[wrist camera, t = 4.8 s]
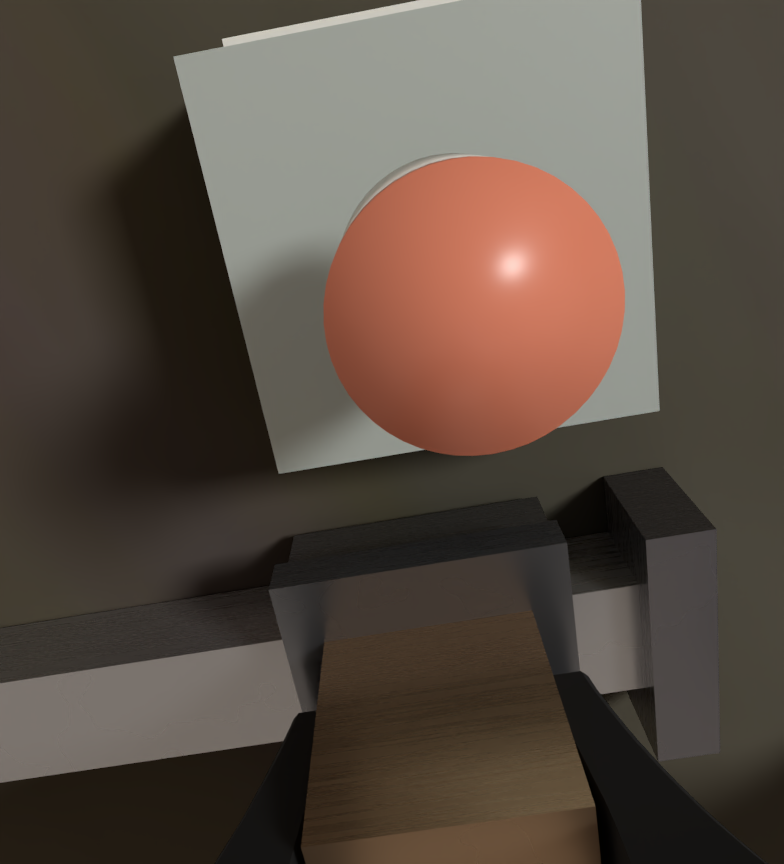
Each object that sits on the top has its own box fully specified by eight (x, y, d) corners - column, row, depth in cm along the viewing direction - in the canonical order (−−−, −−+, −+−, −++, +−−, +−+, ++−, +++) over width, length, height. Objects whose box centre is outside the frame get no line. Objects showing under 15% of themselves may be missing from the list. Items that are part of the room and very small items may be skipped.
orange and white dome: (552, 133, 8) (614, 128, 6) (572, 362, 9) (634, 430, 7) (316, 176, 8) (293, 189, 6) (360, 397, 9) (355, 475, 7)
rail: (662, 466, 15) (716, 529, 13) (671, 664, 17) (719, 752, 14) (-177, 602, 16) (-277, 685, 14) (-84, 777, 18) (-157, 877, 15)
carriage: (534, 472, 15) (649, 719, 8) (561, 708, 17) (669, 1048, 11) (288, 512, 15) (220, 782, 9) (345, 740, 17) (324, 1089, 11)
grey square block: (579, -4, 12) (639, -48, 9) (604, 357, 14) (659, 410, 11) (217, 66, 12) (170, 43, 10) (298, 410, 15) (278, 473, 12)
